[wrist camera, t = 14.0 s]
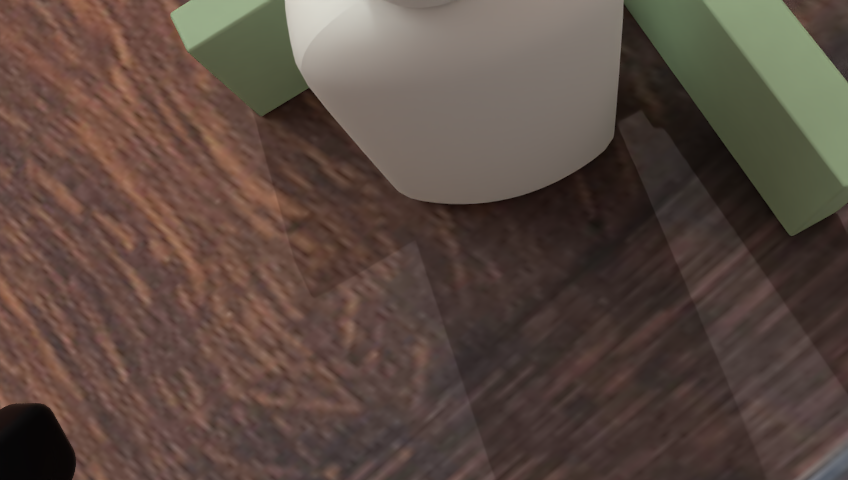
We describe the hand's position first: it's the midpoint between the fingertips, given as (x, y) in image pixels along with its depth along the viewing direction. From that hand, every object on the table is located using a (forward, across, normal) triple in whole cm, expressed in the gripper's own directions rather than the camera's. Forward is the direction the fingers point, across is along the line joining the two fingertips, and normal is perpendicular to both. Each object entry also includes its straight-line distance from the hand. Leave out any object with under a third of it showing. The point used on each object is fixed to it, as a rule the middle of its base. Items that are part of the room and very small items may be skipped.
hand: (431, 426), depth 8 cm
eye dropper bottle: (+12, 0, +2) cm, 12 cm away
